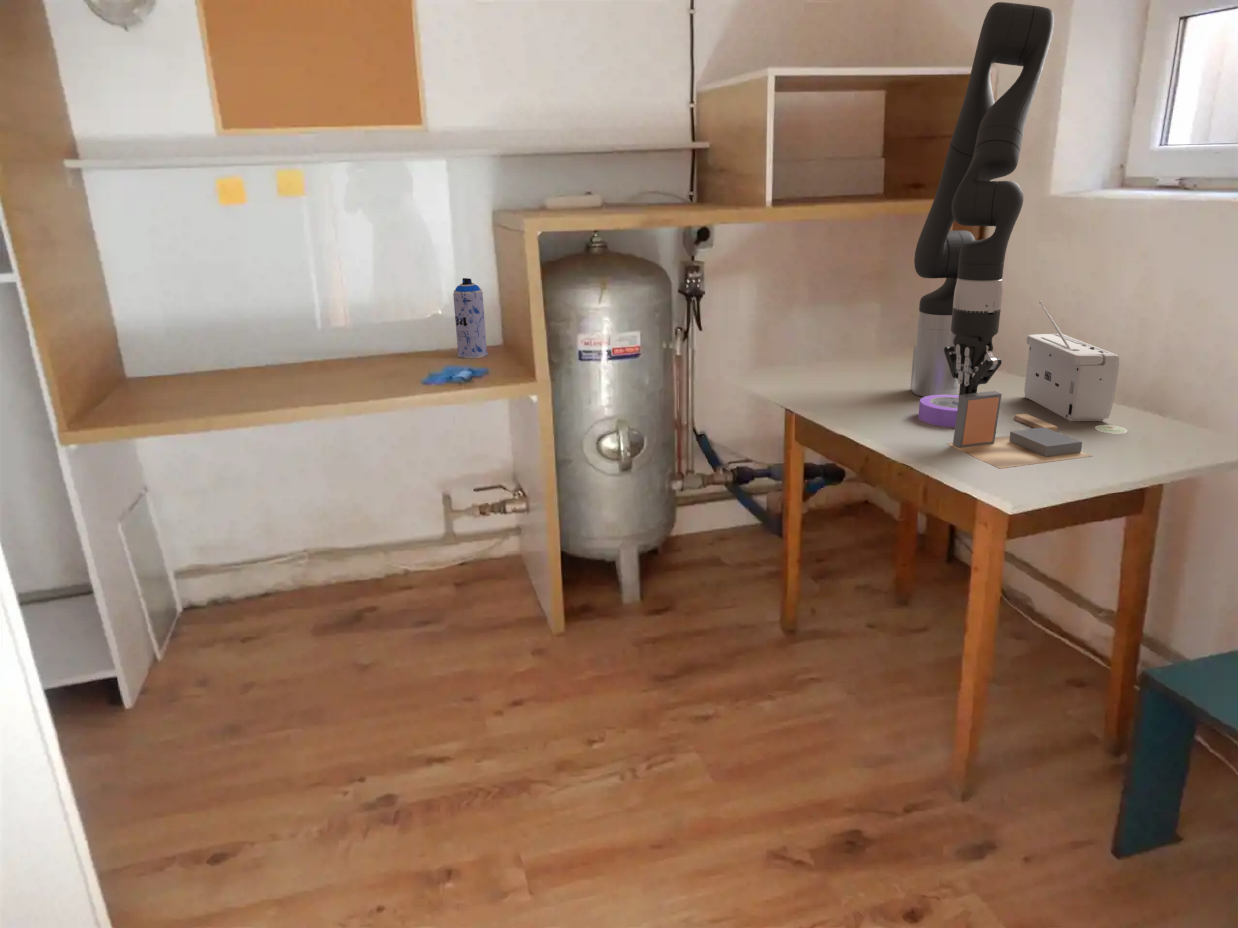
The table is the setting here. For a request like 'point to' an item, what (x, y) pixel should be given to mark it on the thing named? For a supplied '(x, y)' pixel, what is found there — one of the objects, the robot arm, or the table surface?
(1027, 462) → the cork mat
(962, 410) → the slate tile near
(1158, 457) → the table surface
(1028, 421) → the wooden turner
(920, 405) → the masking tape
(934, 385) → the robot arm
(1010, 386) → the table surface
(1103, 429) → the sign
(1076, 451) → the slate tile far
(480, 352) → the aerosol can
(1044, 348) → the stereo radio cassette player
